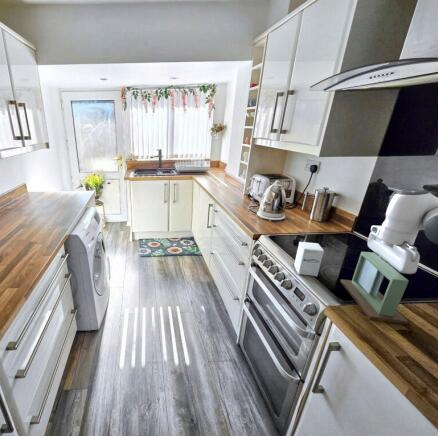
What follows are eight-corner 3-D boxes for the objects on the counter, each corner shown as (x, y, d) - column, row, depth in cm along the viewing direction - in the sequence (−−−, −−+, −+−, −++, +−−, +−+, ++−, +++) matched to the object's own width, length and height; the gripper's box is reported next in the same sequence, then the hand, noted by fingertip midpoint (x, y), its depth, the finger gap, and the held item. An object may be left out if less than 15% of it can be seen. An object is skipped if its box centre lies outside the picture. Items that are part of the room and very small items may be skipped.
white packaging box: (298, 274, 103) (303, 248, 99) (293, 265, 110) (299, 241, 105) (317, 277, 101) (324, 250, 97) (312, 267, 108) (318, 242, 103)
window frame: (369, 284, 95) (381, 251, 90) (407, 324, 76) (425, 285, 71) (340, 281, 98) (349, 248, 92) (369, 319, 79) (384, 280, 74)
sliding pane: (377, 284, 91) (386, 259, 87) (390, 298, 84) (401, 271, 80) (362, 283, 92) (370, 258, 88) (374, 296, 85) (384, 269, 81)
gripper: (432, 251, 72) (416, 288, 77) (388, 225, 91) (377, 257, 96) (406, 249, 74) (392, 286, 79) (368, 224, 92) (358, 255, 97)
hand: (383, 270), depth 87 cm, fingers closed on sliding pane
